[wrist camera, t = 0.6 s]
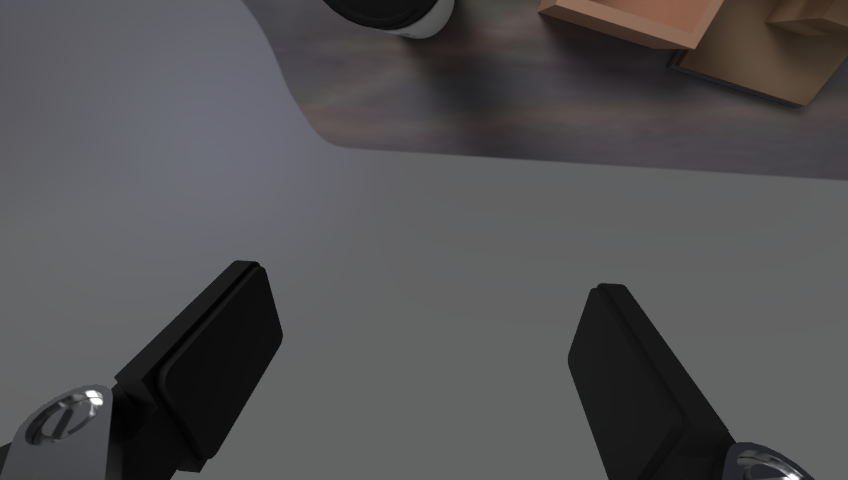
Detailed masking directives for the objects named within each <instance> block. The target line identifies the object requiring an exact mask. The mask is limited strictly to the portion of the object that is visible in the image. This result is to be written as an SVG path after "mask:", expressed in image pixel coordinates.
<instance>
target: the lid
mask: <svg viewBox="0 0 848 480" xmlns="http://www.w3.org/2000/svg"><path fill="white" fill-rule="evenodd" d="M847 56H848V0H724V1H723V3H722V5H721V6H720V8H719V10H718V11H717V13H716V15H715V16H714V18H713V20H712V21H711V23H710V25H709V26H708V28H707V30H706V31H705V33H704V35H703V36H702V38H701V40H700V41H699V43H698V45H697V46H696V48H695V49H684V50H683V51H682V53H681V55H680V56H679V58H678V60H677V62H676V63H675V65H674V66H677V67H680V68H683V69H686V70H690V71H693V72H696V73H699V74H702V75H705V76H708V77H712V78H715V79H718V80H721V81H724V82H727V83H731V84H734V85H737V86H740V87H743V88H746V89H749V90H753V91H756V92H759V93H762V94H765V95H768V96H772V97H775V98H778V99H781V100H784V101H787V102H790V103H794V104H797V105H801V106H807V105H808V104H809V103H810V102H811V100H812V99H813V98H814V97H815V95H816V94H817V93H818V92H819V90H820V89H821V88H822V87H823V86H824V84H825V83H826V82H827V81H828V79H829V78H830V77H831V76H832V74H833V73H834V72H835V71H836V70H837V68H838V67H839V66H840V65H841V63H842V62H843V61H844V60H845V58H846V57H847Z"/></svg>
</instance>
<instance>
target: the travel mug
mask: <svg viewBox="0 0 848 480" xmlns="http://www.w3.org/2000/svg"><path fill="white" fill-rule="evenodd" d="M323 1H324V2H325V3H326V4H327V5H328V6H329V7H330V8H331V9H333V10H334V11H335V12H336V13H338V14H339V15H341V16H342V17H344V18H345V19H347V20H349V21H351V22H354V23H356V24H359V25H361V26H366V27H368V28H371V29H373V30H377V31H382V32H387V33H391V34H396V35H401V36H405V37H410V38H416V39H424V38H428V37H431V36H433V35H435V34H437V33H438V32H439V31H440V30H441V29H442V28H443V27H444V26H445V25H446V23H447V22H448V20H449V18H450V16H451V14H452V11H453V8H454V2H455V0H323Z"/></svg>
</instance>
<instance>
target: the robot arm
mask: <svg viewBox="0 0 848 480" xmlns="http://www.w3.org/2000/svg"><path fill="white" fill-rule="evenodd" d="M282 338H283V333H282V329H281V325H280V321H279V318H278V314H277V310H276V307H275V303H274V299H273V296H272V292H271V288H270V285H269V281H268V277H267V273H266V270H265V269H264V268H263V267H261V266H260V264H259V263H258V262H255V261H239V260H237V261H234V262H233V263H232V264H231V265H230V266H229V267H228V268H227V269H226V270H224V271H223V273H221V274H220V275H219V276H218V277H217V278H216V279H215V280H214V281H213V282H212V283H211V284H210V285H209V286H208V287H207V288H206V289H205V290H204V291H203V292H202V293H201V294H200V295H199V296H198V297H197V298H195V299H194V300H193V302H191V303H190V304H189V305H188V306H187V307H186V308H185V309H184V310H183V311H182V312H181V313H180V314H179V315H178V316H177V317H176V318H175V319H174V320H173V321H172V322H171V323H170V324H169V325H168V326H167V327H165V328H164V329H163V330H162V331H161V332H160V333H159V334H158V335H157V336H156V337H155V338H154V339H153V340H152V341H151V342H150V343H149V344H148V345H147V346H146V347H145V348H144V349H143V350H142V351H141V352H140V353H139V354H137V356H135V357H134V358H133V359H132V360H131V361H130V362H129V363H128V364H127V365H126V366H125V367H124V368H123V369H122V370H121V371H120V372H119V373H118V374H117V375H116V376H115V377H114V378H115V379H116V380H117V382H118V383H117V384H116V385H115V386H114V387H113V388H112V389H109V388H108V387H107V386H104V385H98V384H94V385H86V386H82V387H79V388H75V389H72V390H70V391H67V392H65V393H63V394H61V395H59V396H57V397H55V398H53V399H52V400H50V401H48V402H47V403H45V404H43V405H42V406H41V407H40V408H38V409H37V410H36V411H35V412H33V413H32V414H31V415H30V416H29V417H28V418H27V419H26V420H25V421H24V422H23V423H22V424H21V426H20V427H19V428H18V430H17V432H16V434H15V436H14V437H13V441H12V442H11V443H9V444H7V445H4V446H2V447H0V480H170V479H171V478H172V476H173V475H174V473H175V472H176V470H177V469H178V470H179V471H188V472H198V473H200V471H201V470H202V468H203V466H204V465H205V463H206V461H207V460H208V459H211V458H213V457H214V456H215V455H216V453H217V452H218V450H219V448H220V447H221V445H222V443H223V442H224V440H225V438H226V437H227V435H228V433H229V431H230V430H231V428H232V426H233V425H234V423H235V421H236V420H237V418H238V416H239V415H240V413H241V411H242V409H243V407H244V406H245V404H246V402H247V401H248V399H249V397H250V396H251V394H252V392H253V391H254V389H255V387H256V386H257V384H258V382H259V380H260V379H261V377H262V375H263V374H264V372H265V370H266V369H267V367H268V365H269V363H270V362H271V360H272V358H273V356H274V355H275V353H276V352H277V350H278V348H279V346H280V345H281V342H282ZM568 365H569V369H570V372H571V375H572V377H573V380H574V383H575V386H576V389H577V391H578V394H579V397H580V400H581V403H582V406H583V408H584V411H585V414H586V417H587V419H588V422H589V425H590V428H591V431H592V434H593V436H594V439H595V442H596V445H597V448H598V451H599V453H600V456H601V459H602V462H603V465H604V467H605V470H606V473H607V476H608V479H609V480H815V479H814V478H813V477H811V475H809V474H808V473H807V472H806V471H805V470H804V469H802V468H801V467H800V466H799V465H798V464H796V463H795V462H793V461H792V460H790V459H788V458H787V457H785V456H784V455H782V454H781V453H778V452H776V451H774V450H772V449H770V448H768V447H766V446H763V445H759V444H755V443H752V442H738V443H736V442H735V440H734V439H733V438H732V436H731V435H730V433H729V432H728V431H729V430H728V429H727V427H726V426H725V425H724V423H723V422H722V421H721V419H720V418H719V416H718V415H717V414H716V412H715V411H714V409H713V408H712V406H711V405H710V404H709V402H708V401H707V399H706V398H705V397H704V395H703V394H702V392H701V391H700V390H699V388H698V387H697V385H696V384H695V383H694V381H693V380H692V379H691V377H690V376H689V374H688V373H687V371H686V370H685V369H684V367H683V366H682V364H681V363H680V362H679V360H678V359H677V357H676V356H675V355H674V353H673V352H672V350H671V349H670V348H669V346H668V345H667V343H666V342H665V341H664V339H663V338H662V336H661V335H660V334H659V332H658V331H657V330H656V328H655V327H654V325H653V324H652V322H651V321H650V320H649V318H648V317H647V315H646V314H645V313H644V311H643V310H642V308H641V307H640V306H639V304H638V303H637V301H636V300H635V299H634V297H633V296H632V294H631V293H630V292H629V290H628V289H627V287H625V286H624V285H622V284H606V283H601V284H599V285H598V286H597V288H593V289H591V291H590V293H589V296H588V299H587V302H586V305H585V308H584V311H583V314H582V316H581V319H580V322H579V325H578V328H577V331H576V334H575V337H574V340H573V343H572V346H571V348H570V352H569V355H568Z"/></svg>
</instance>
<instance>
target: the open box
mask: <svg viewBox="0 0 848 480" xmlns="http://www.w3.org/2000/svg"><path fill="white" fill-rule="evenodd" d="M723 1H724V0H542V1H541V4H540V7H539V10H538V12H539V13H542V14H545V15H548V16H552V17H555V18H558V19H561V20H564V21H567V22H570V23H574V24H577V25H580V26H583V27H586V28H589V29H592V30H595V31H599V32H602V33H605V34H608V35H611V36H614V37H617V38H621V39H624V40H627V41H630V42H633V43H636V44H639V45H642V46H646V47H649V48H652V49H695V48H696V46H697V45H698V43H699V41H700V40H701V38H702V36H703V35H704V33H705V31H706V30H707V28H708V26H709V25H710V23H711V21H712V20H713V18H714V16H715V15H716V13H717V11H718V10H719V8H720V6H721V5H722V3H723Z"/></svg>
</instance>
